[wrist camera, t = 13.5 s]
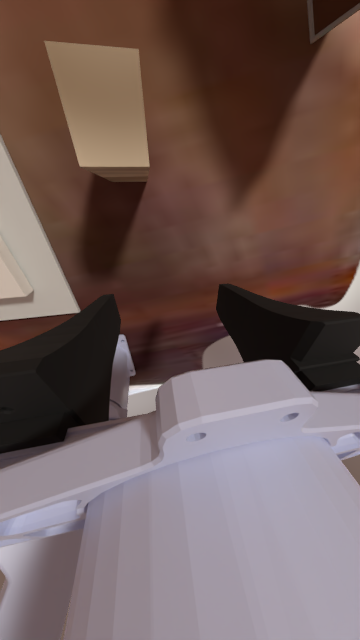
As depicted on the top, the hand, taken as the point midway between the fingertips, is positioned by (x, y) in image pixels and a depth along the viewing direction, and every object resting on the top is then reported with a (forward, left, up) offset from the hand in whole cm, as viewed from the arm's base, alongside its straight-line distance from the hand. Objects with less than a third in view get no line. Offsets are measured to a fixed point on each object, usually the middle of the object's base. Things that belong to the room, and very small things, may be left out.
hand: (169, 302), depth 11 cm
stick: (+9, +2, -9) cm, 13 cm away
